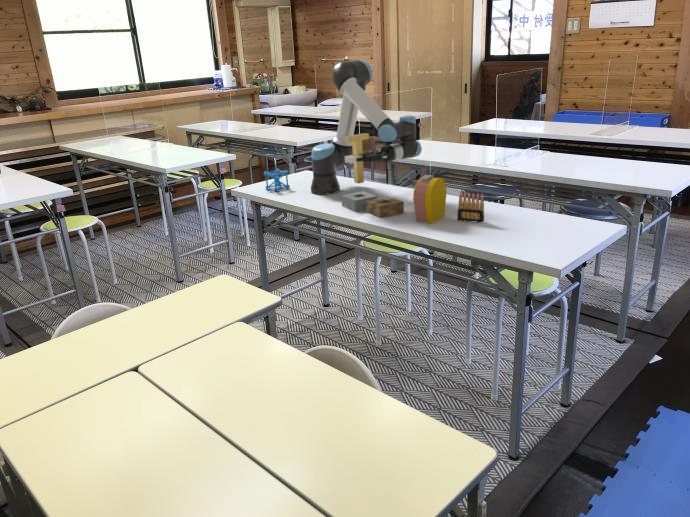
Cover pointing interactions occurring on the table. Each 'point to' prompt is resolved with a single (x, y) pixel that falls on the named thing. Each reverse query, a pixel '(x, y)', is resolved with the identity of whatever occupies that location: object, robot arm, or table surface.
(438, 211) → the alarm clock
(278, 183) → the molecular structure
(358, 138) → the t key
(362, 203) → the block
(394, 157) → the robot arm
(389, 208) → the block
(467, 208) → the ammunition clip
